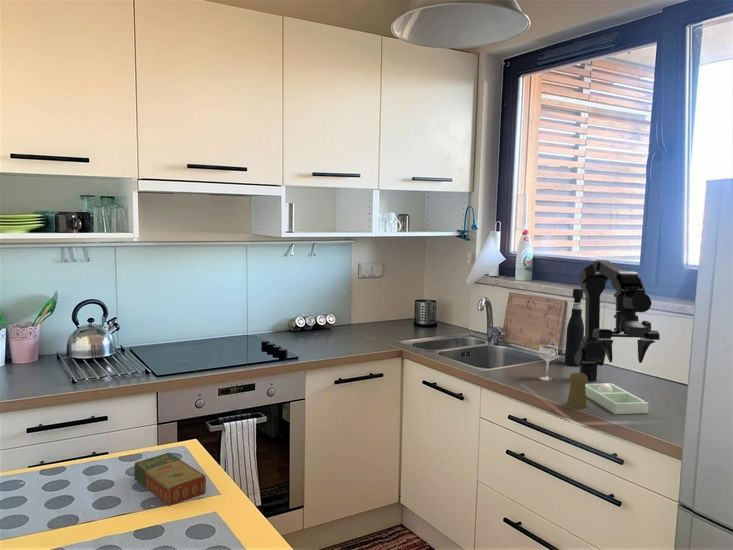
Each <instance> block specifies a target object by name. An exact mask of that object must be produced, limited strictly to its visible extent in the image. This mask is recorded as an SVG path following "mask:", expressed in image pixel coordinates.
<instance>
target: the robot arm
mask: <svg viewBox="0 0 733 550" xmlns="http://www.w3.org/2000/svg"><path fill="white" fill-rule="evenodd" d="M609 280H610V285H611V286H612V287H613V288H614V290H615V291H616V292H615V293H614V294H613V297H614V298H615V314H614V315H613V319H615V327H613V330H612V329H608V328H600V323H601V322H600V320H601V317H600V315H601V313H600V312H601V295H602V293H603V292H604V290H605V289H606V283H607V282H608V281H609ZM579 282H580V289H582V290H583V294H584V295H585V305H584V306H585V307H584V308H585V310H584V312H585V315H584V316H585V317H584V338H583V339H582V341H581V342H580V348H579V350H578V351H577V353H576V355H575V362H576V363H577V364H578V365H580V366H579V372H578V373H583V374H585V375H586V376H587V378H588V381H587V382H597V380H598V379H597V378H598V366H604V363H605V361H606V360H605V358H607V359H608V362H609V363H613V343H614V339H612V338H639V339H637V360H638V364H639V363H640V364H641V363H643V361H644V358H645V356H646V354H647V351H648V348H649V346H651V345H652V344H654V343H656V341H660V338H661V337H660V336H661V335H660V332H659V331H658V330H654V329H653V330H652V322H651V321H650V320H642V321H639V315H637V313H646V312H647V311H649V309H651V307H652V300H651V298H650V296H649V295H648V294H646V287H645V285H644V283H643V281H642V278H641V276H640V275H639V273H638V272H637V271H633V270H624V269H622V268H620V267H619V266H617V265H615V264H613V263H612V262H611V260H607V259H606V260H605V259H597V260H594V261H593V263H591V264H590V265H588V266H586V267H584V268H583V270H581V273H580V274H579ZM606 356H607V357H606Z"/></svg>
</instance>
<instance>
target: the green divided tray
mask: <svg viewBox="0 0 733 550" xmlns="http://www.w3.org/2000/svg"><path fill="white" fill-rule="evenodd" d="M600 384H601V383H586V385H585V389H586V398H588V399H590V400H592V401H594V402H595V403H597V404H599V405H600V406H602V407H603V408H605V409H606V410H608V411H610V412H611V413H613V414H615V415H622V414H623V415H624V414H625V415H627V414H628V415H629V414H648V413H649V402H647V401H646V400H643V399H641V398H639V397H638V396H636V395H634V394H633V393H630V392H629V391H626V390H625V389H623V388H621V387H619V386H617V385H616V384H613V383H607V382H606V384H609V385H610V386H611V387H612V389H613V393H599V392H598V391H597V389H598V386H599V385H600Z"/></svg>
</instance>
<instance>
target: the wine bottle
mask: <svg viewBox="0 0 733 550" xmlns="http://www.w3.org/2000/svg"><path fill="white" fill-rule="evenodd" d="M572 298H574V299H573V303H572V308H571V316H570V318H569V321H568V322H567V326H566V335H565V336H566V337H565V351H564V352H565V353H564V365H566V366H567V367H568V366H569V367H573V368H575V367H579V368H580V365H578V364H577V363H576V362H575V355H576V353H577V351H578V350H579V348H580V342H581V341H582V339H583V338H584V336H585V323H584V321H583V317H582V316H583V315H582V313H583V309H582V304H581V303H582V299H584V292H583V290H582V288H573V289H572Z"/></svg>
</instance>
